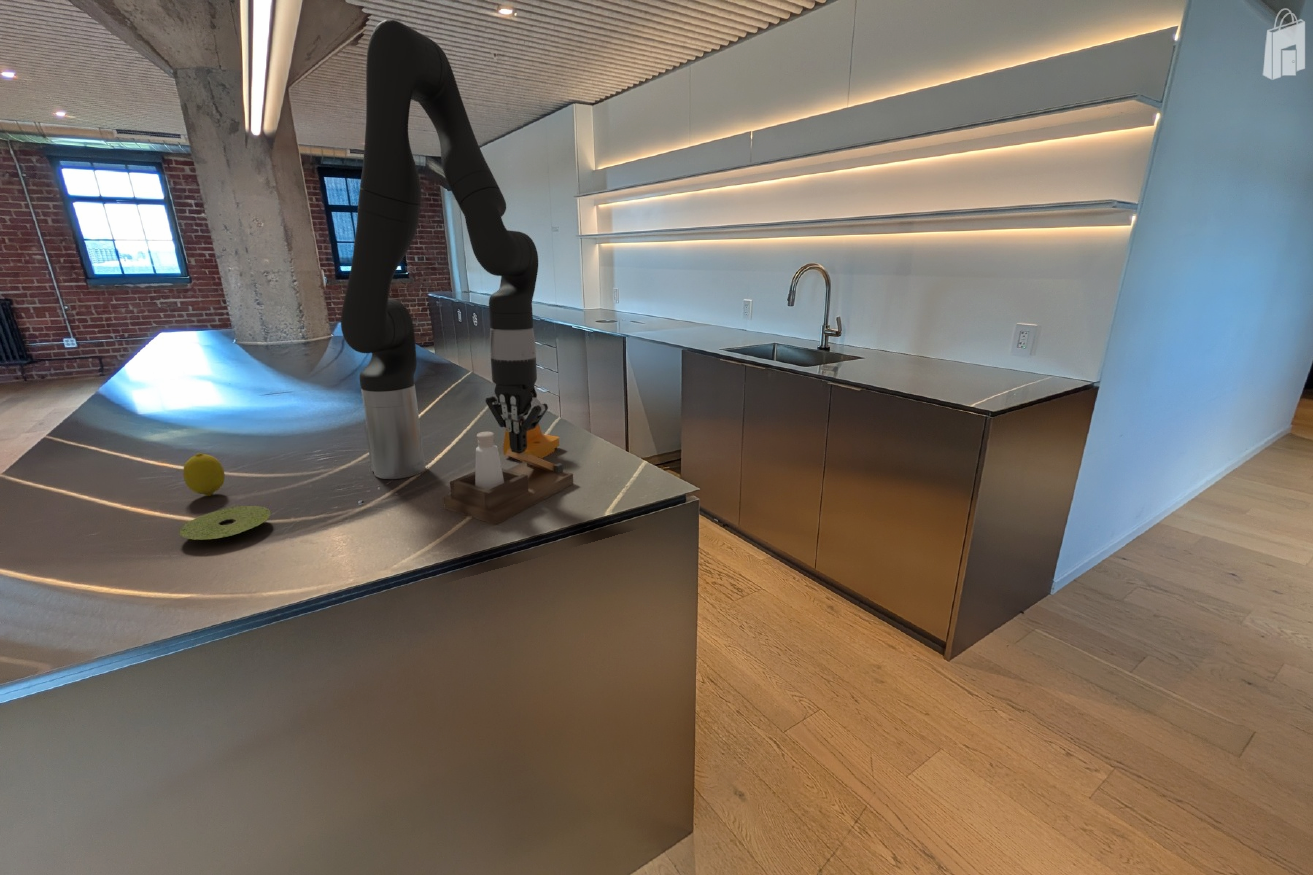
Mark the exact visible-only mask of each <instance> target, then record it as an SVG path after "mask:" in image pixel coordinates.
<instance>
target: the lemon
mask: <svg viewBox="0 0 1313 875" xmlns="http://www.w3.org/2000/svg"><path fill="white" fill-rule="evenodd" d="M182 471H183V474H182V475H183V480H184V482H185V485H186V486H187V487H188V489H189V490H191V491H192V492H194V493H196V494H199V495H204V496H206V497H210V496H212V495H213V494H214V493H215V492H217V491H218V490H220V489H221V488H222V487H223V485H224V482H225V470H224V467H223V466H222V463H221V462H220V461H219V460H218V459H217V458H216V457H214V456H212V455H209V454H203V453H202V452H198V453H196V454H195V455H193V456H191V457H190V458H189V459H187V461H186V462H185V464H184V466H183V470H182Z"/></svg>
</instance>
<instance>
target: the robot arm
mask: <svg viewBox="0 0 1313 875" xmlns="http://www.w3.org/2000/svg"><path fill="white" fill-rule="evenodd" d="M365 67H366V70H365V71H366V72H365V74H366V76H365V81H366V85H365V87H366V88H365V89H366V93H365V94H366V95H365V96H366V97H365V99H366V104H365V105H366V107H365V108H366V109H365V110H366V112H365V113H366V114H365V115H366V116H365V118H366V119H365V132H364V133H365V134H364V144H363V145H364V147H363V161H362V171H361V178H360V182H359V184H360V185H359V192H358V200H357V201H358V202H357V219H356V227H355V228H356V229H355V236H354V243H353V250H352V251H353V253H352V260H351V267H350V271H349V277H348V281H347V285H346V286H347V287H346V291H345V294H344V298H343V299H344V300H343V302H342V303H343V304H342V307H341V308H342V309H341V314H340V327H341V333H342V336H343V338H344V340H345V343H346V344H347V345H348V346H349V347H350V348H351V350H354V351H356V352H357V353H360V354H371V358H370V359H369V362H368V364H367V365H366V367H364V369H363V370H361V372H360V373H359V377H358V378H359V384H360V390H361V397H362V403H363V409H364V415H365V422H366V424H365V425H364V429H365V435H366V436H365V437H366V442H367V443H366V444H367V449H368V454H369V455H368V456H369V461H370V469H371V471H372V472H373V473H374V477H377V478H379V479H383V480H397V479H405V478H409V477H412V476H416V475H418V474H421V473H422V472H423V471H424V470H425V469H426V466H425V465H426V464H425V458H424V448H423V440H422V434H421V433H422V432H421V424H420V416H419V410H418V400H417V392H416V386H415V375H416V374H415V373H416V370H417V365H418V364H417V352H416V351H417V348H416V347H417V346H416V334H415V327H414V322H413V318H412V315H411V313H410V311H409V309H408V308H407V307H406V306H405V304H404V303H402V302H401V301H400V300H397V299H395V298H391V297H390V296H389V295H390V292H391V291H390V290H391V286H392V282H393V278H394V275H395V273H396V271H397V269H398V267H399V266H400V264H401V262H402V261H403V260H404V257H405V256H406V254H407V252H408V251H409V249H410V247H411V245H412V243H413V242H414V239H415V237H416V235H417V230H418V228H419V227H418V225H419V219H420V213H421V212H420V211H421V205H422V204H421V203H422V193H423V191H422V185H421V181H420V180H421V179H420V177H419V172H418V169H417V165H416V161H415V158H414V155H413V152H412V149H411V144H410V138H409V119H410V118H409V116H410V109H411V108H410V107H411V102H412V101H414V102H417V103H418V104H419V105H420V106H421V108H422V109H423V110H424V111H425V114H426V115H427V116H428V118H429V120H430V121H431V123H432V124H433V127H434V129H435V130H436V135H437V137H438V141H439V145H440V146H439V147H440V157H441V158H440V159H441V160H440V161H441V168H442V171H443V175H444V177H445V181H446V183H447V184H448V187H449V188H450V191H451V192H452V195H453V197H454V199H455V201H456V203H457V205H458V207H459V209H460V210H461V212H462V214H463V216H464V220H465V225H466V230H467V233H468V237H469V240H470V245H471V249H472V252H473V254H474V256H475V259H476V260H477V262H478V263H479V264H480V266H481V268H482V269H483V270H485V271H486V272H487V273H489V274H490V275H493V276H497V277H500V284H499V288H498V290H496V291H495V292H493V293H492V294H490V296H489V298H488V316H489V327H490V330H489V353H490V367H491V368H490V369H491V382H493V384H495V387H494V393H493V395H491V396H489V397H487V398H485V403H486V405H487V407H488V408H489V411H490V412H491V414H492V415H493V417H494V419H495V420H496V422H497V424H498V426H499V427H500V428H505V430H506V429H507V431H508V432H509V440H510V448H511V451H512V452H515V453H522V452H524V451H525V450H526V449H527V431H529V430H532V429H534V428H536V426H537V424H538V423H539V424H540V421H541V420H542V419H543V417H544V415H545V414H546V413H547V411H548V409H549V405H548V404H547V403H542V402H541V401H540V400H539V399H538V398H537V397H538V394H537V391H536V388H535V387H536V386H535V384H536V382H537V380H538V376H537V375H538V373H537V372H538V370H537V349H536V338H535V332H534V319H533V318H534V316H533V315H534V314H533V299H534V295H535V294H534V293H535V291H536V290H535V289H536V285H537V278H538V272H539V255H538V254H539V253H538V251H537V246H536V244H535V242H534V240H533V239H532V238H531V237H530V235H528V234H527V233H524V232H522V231H518V230H517V231H516V230H508V229H507V228H506V226H505V224H504V222H503V218H502V217H503V216H504V214H505V213H506V211H507V204H506V199H505V196H504V194H503V193H502V191H501V189H500V187H499V185H498V183H497V180H496V179H495V176H494V175H493V172H492V170H491V169H490V167H489V165H488V163H487V161H486V159H485V157H484V154H483V152H482V150H481V148H480V145H479V144H478V143H479V142H478V140H477V138H476V135H475V133H474V130H473V127H472V125H471V122H470V120H469V116H468V114H467V110H466V108H465V107H466V106H465V105H464V102H463V99H462V96H461V93H460V89H459V87H458V83H457V80H456V77H455V74H454V72H453V71H454V70H453V69H452V68H453V67H452V66H451V63H450V61H449V58H448V57H447V55H446V53H445V51H444V50H443V49H442V47H441V46H440V45H439V44H438V43H436V42H435V41H434V40H432V39H431V38H429V37H428V36H426V35H424V34H422V33H421V32H418V31H417V30H415V29H414V28H411V27H410V26H409V25H408V26H407V25H406V24H404V23H402V22H400V21H398V20H395V19H389V18H388V19H385V20H382V21H381V22H379V23H378V24H377V25H376V26H375V27H374V28H373V30H372V33H371V35H370V37H369V41H368V45H367V51H366V66H365Z"/></svg>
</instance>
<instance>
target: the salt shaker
mask: <svg viewBox="0 0 1313 875" xmlns="http://www.w3.org/2000/svg"><path fill="white" fill-rule="evenodd" d="M476 437H477V438H476V439H477V445H478V446H477V447H476V448H475V471H476V473H475V486H478V487H481V488H484V489H488V490H489V489H492V488H494V487H496V486H498V485H500V484H503V483H504V478H503V473H502V469H503V468H502V463H501V457H500V452H499V448H498V446H497V445H495V433H494V432H493V431H481V432H478V433H477V434H476Z"/></svg>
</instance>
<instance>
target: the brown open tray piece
mask: <svg viewBox="0 0 1313 875" xmlns="http://www.w3.org/2000/svg"><path fill="white" fill-rule="evenodd" d="M475 473H476V470H475V471H473V472H470V473H468V474H465V475H463V476H460V477H458V478H455V479H453V480H451V481H449V487H450V494H447V495H446V496H443V497H442V500H443V508H444V509H445V510H449V511H451V512H456V513H458V514H461V515H463V516H464V515H465V516H467V517H470V518H473V519H476V520H479V521H483V522H484V523H488V524H491V525H494V526H496V525H499V524H500V523H502V522H504V521H506V520H507V519H510V518H511V517H513V516H515V515H517V514H519V513H521V512H522V511H524V510H526V509H529V508H531V507H532V506H534V505H536V504H538V503H539V502H541V501H543V500H546V499H547V498H549V497H551V496H553V495H555V494H556V493H558V492H560V491H562V490H565V489H566V488H567V487H569V486H571V485H573V484H574V474H573V473H572V472H568V471H564V463H560V462H559V463H556V465H554V471H550V470H546V469H542V468H538V467H534V466H533V465H530V464H528V463H525V462H523V461H522V462H521V463H519V464H516V465H514V466H512V467H509V468H507V469H505V468H502V473H503V478H504V483H503V484H500V485H498V486H496V487H494V488H492V489H489V490H488V489H484V488H481V487H478V486H475Z"/></svg>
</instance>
